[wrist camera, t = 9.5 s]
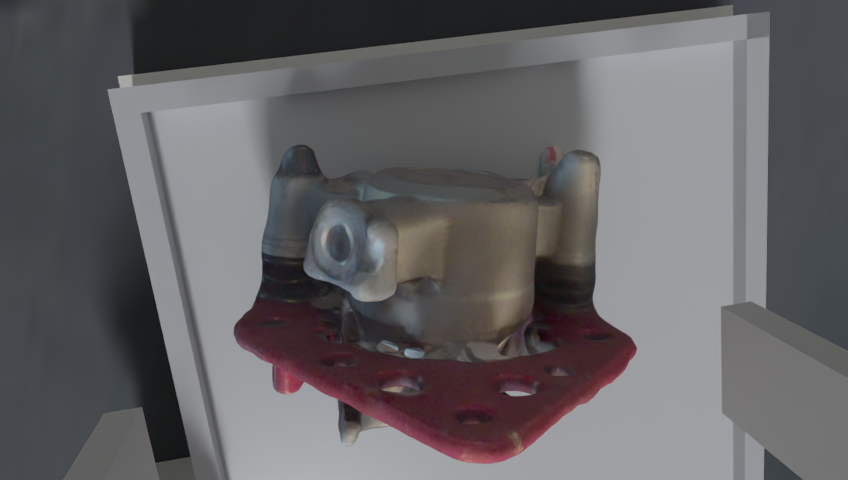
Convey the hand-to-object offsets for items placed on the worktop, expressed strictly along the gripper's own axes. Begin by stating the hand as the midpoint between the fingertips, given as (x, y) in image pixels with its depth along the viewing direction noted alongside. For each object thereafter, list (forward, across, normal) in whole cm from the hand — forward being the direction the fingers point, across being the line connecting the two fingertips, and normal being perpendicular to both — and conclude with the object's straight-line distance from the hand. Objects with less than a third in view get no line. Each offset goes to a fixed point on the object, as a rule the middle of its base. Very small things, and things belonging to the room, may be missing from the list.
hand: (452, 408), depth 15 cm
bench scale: (+13, +1, -3) cm, 13 cm away
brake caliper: (+9, +1, 0) cm, 9 cm away
